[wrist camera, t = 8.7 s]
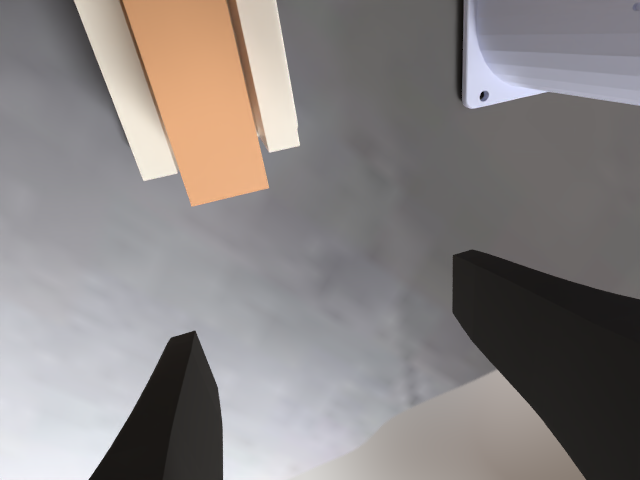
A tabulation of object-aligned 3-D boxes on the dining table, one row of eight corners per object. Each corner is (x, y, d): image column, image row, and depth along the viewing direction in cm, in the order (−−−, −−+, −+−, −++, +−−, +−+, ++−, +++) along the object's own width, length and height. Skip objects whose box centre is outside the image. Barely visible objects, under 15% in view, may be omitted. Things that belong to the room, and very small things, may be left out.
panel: (169, -176, 13) (142, -368, 7) (244, 136, 18) (269, 188, 12) (96, -170, 12) (0, -365, 6) (194, 147, 17) (191, 206, 11)
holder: (242, -167, 14) (255, -231, 11) (294, 123, 19) (315, 142, 15) (24, -147, 13) (-36, -211, 10) (139, 157, 18) (126, 184, 14)
